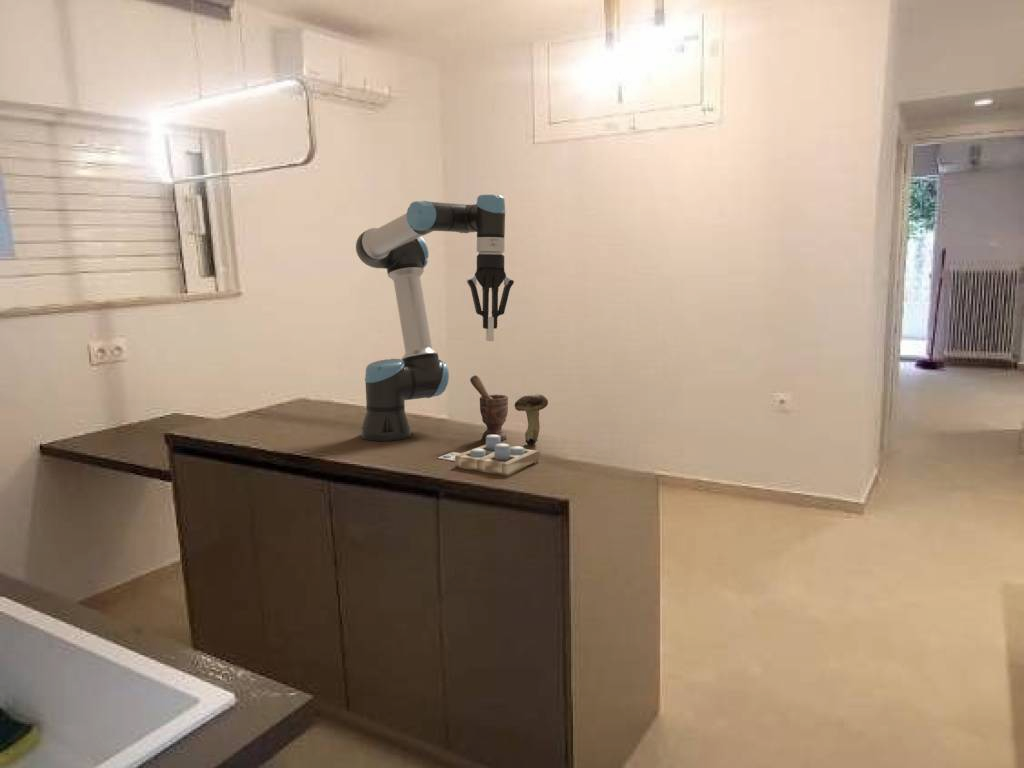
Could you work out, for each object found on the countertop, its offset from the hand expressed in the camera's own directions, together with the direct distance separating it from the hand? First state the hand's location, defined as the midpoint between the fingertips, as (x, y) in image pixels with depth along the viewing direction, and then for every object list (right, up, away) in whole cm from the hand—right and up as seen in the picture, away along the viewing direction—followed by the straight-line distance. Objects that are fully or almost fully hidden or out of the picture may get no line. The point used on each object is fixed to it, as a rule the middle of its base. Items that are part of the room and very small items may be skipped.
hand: (489, 340), depth 197 cm
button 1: (-3, -33, -9) cm, 34 cm away
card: (-9, -32, -1) cm, 34 cm away
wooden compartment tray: (+2, -33, -8) cm, 34 cm away
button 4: (+7, -33, -7) cm, 34 cm away
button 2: (+1, -30, -3) cm, 30 cm away
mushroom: (+12, -30, +14) cm, 35 cm away
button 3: (+4, -31, -13) cm, 34 cm away
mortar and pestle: (-1, -29, +20) cm, 36 cm away
